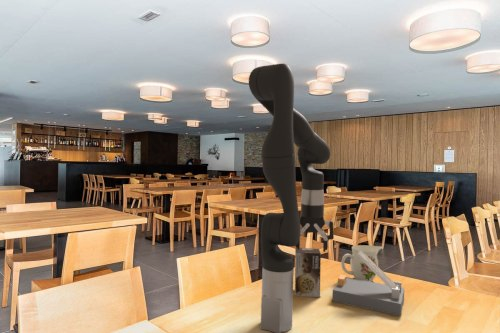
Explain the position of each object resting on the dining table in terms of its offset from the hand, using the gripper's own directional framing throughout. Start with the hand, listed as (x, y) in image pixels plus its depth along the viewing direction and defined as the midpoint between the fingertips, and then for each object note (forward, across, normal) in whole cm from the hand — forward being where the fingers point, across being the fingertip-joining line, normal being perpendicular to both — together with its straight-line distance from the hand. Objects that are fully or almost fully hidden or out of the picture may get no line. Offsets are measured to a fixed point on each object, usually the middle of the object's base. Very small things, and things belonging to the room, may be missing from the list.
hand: (311, 249), depth 114 cm
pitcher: (+21, +20, +31) cm, 42 cm away
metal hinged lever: (+10, +22, +10) cm, 26 cm away
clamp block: (+20, +20, +10) cm, 30 cm away
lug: (+16, +11, +13) cm, 23 cm away
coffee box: (+20, -2, +10) cm, 22 cm away
